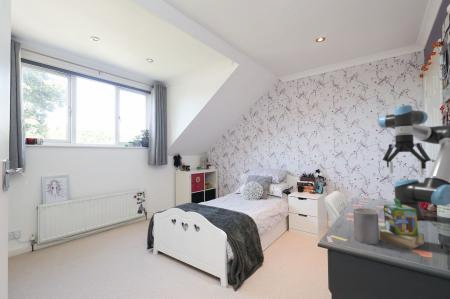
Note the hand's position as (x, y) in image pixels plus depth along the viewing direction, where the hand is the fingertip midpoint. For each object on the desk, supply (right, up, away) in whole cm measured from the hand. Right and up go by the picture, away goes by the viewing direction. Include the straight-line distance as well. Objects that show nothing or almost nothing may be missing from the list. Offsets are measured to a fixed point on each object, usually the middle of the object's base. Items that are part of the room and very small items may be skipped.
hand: (405, 174), depth 117 cm
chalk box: (-17, -25, -17) cm, 34 cm away
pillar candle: (-31, -29, -16) cm, 46 cm away
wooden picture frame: (-16, -29, -18) cm, 37 cm away
